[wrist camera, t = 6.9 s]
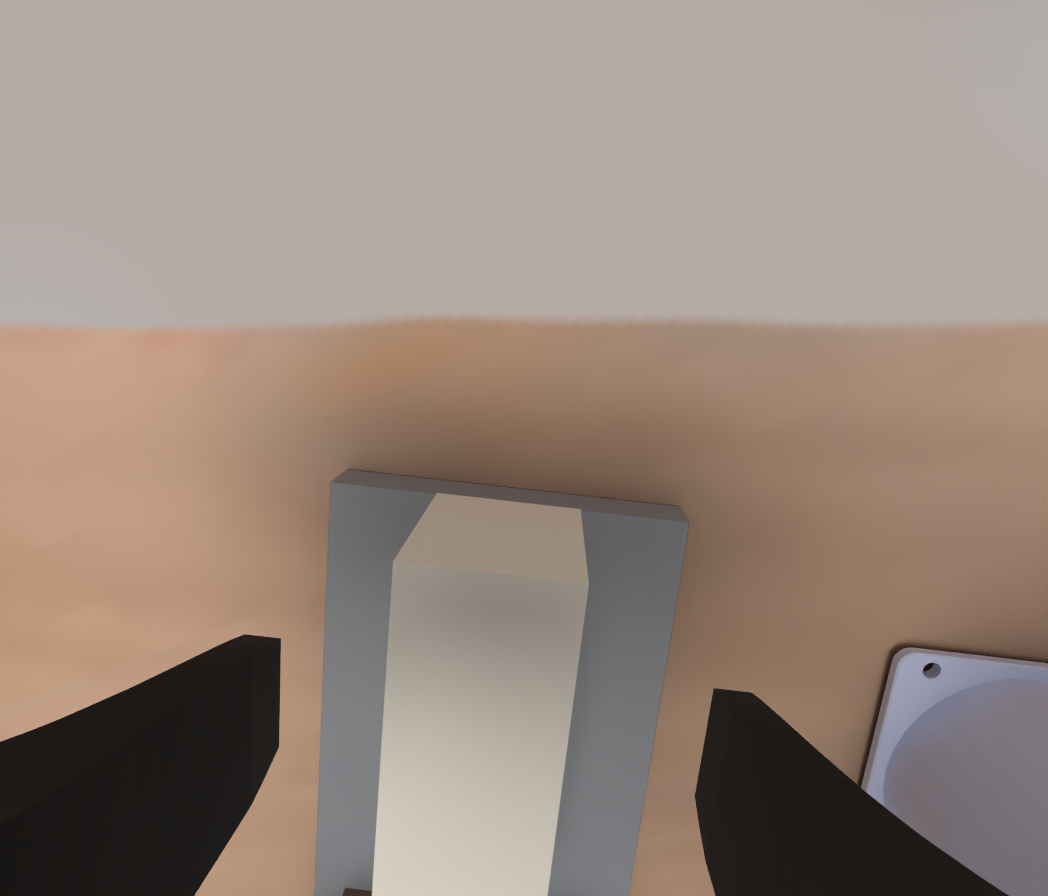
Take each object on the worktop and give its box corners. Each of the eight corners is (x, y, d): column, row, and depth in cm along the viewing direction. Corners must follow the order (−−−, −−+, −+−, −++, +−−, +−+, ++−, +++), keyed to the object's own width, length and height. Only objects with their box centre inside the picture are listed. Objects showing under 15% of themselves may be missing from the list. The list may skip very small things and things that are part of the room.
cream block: (580, 509, 18) (588, 584, 13) (538, 844, 21) (531, 1013, 16) (437, 492, 18) (393, 561, 13) (411, 828, 21) (366, 990, 16)
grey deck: (679, 506, 20) (689, 522, 18) (573, 1174, 25) (574, 1226, 24) (347, 469, 20) (330, 482, 18) (317, 1137, 26) (302, 1188, 24)
